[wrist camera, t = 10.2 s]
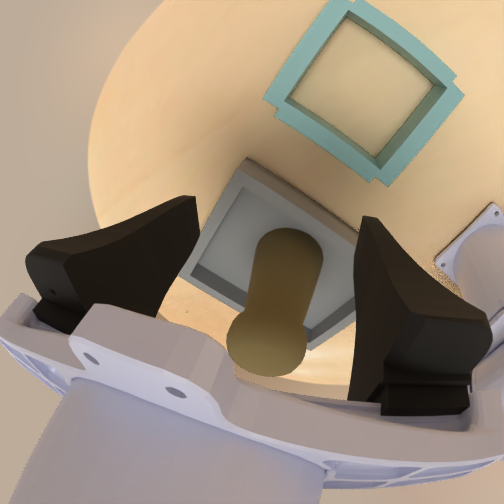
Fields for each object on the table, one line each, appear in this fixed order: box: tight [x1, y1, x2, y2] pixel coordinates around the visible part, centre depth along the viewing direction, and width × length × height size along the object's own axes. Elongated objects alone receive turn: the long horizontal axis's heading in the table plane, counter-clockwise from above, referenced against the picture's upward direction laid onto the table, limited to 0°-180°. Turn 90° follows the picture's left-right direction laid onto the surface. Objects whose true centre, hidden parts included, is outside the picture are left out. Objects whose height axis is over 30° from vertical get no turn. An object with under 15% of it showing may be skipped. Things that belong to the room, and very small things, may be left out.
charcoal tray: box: [178, 158, 359, 351], centre depth 25 cm, size 16×13×2 cm
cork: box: [226, 227, 324, 377], centre depth 21 cm, size 6×6×11 cm
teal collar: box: [263, 0, 465, 187], centre depth 15 cm, size 10×10×2 cm
